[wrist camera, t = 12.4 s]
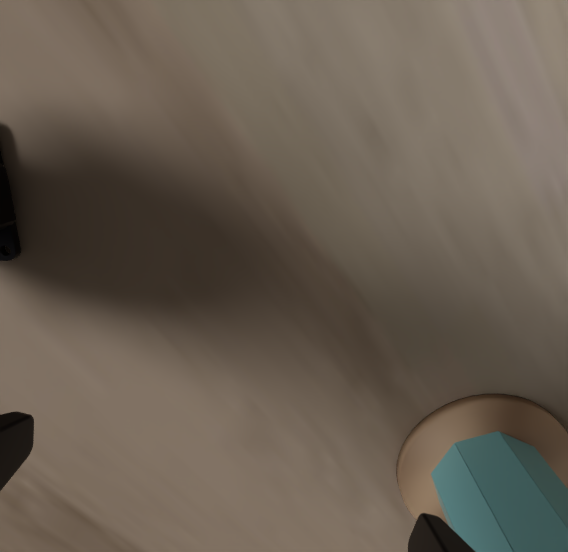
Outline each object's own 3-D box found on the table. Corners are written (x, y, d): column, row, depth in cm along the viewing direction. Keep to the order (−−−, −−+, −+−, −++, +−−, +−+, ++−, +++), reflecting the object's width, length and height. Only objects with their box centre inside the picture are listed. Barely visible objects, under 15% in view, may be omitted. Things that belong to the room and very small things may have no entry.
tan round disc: (389, 527, 26) (392, 539, 25) (405, 393, 23) (408, 401, 22) (547, 529, 26) (555, 541, 25) (585, 394, 23) (595, 403, 22)
